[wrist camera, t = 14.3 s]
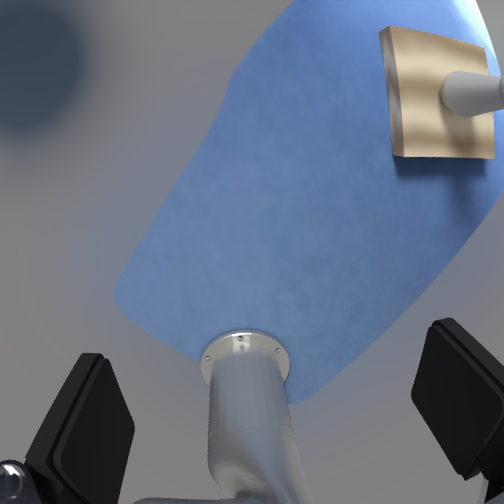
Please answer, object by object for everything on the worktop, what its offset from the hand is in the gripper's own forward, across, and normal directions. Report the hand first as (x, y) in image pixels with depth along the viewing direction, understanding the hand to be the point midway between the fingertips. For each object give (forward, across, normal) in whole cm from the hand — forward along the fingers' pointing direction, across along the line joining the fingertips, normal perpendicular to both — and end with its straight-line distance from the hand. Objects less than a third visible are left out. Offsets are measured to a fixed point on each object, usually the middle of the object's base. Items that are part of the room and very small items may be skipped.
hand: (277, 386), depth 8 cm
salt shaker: (+26, -26, -13) cm, 40 cm away
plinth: (+29, -26, -13) cm, 42 cm away
